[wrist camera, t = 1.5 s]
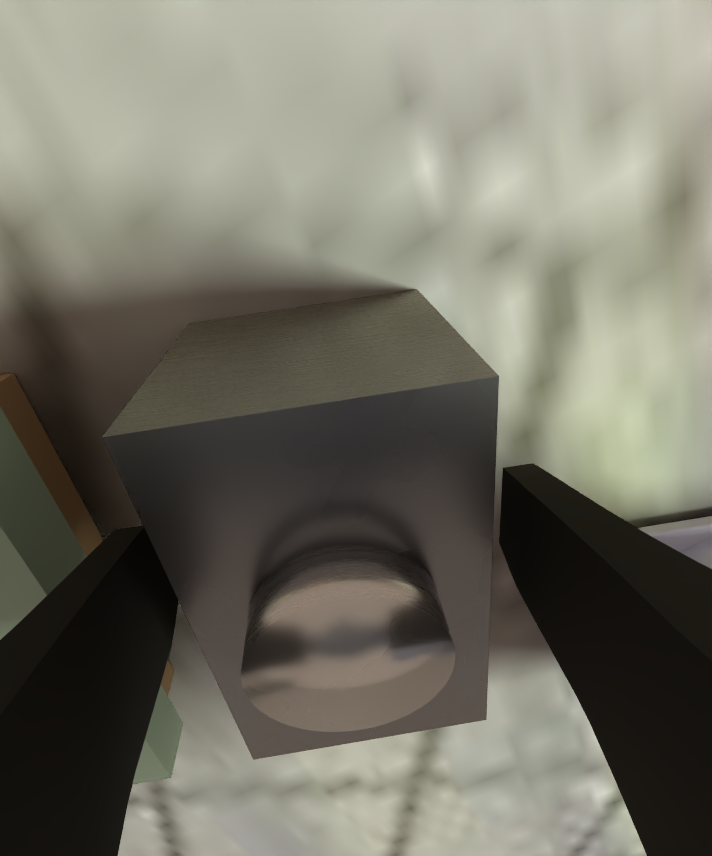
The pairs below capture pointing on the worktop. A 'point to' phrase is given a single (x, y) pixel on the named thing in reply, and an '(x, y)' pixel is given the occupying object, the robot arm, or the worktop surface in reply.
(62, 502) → the stand
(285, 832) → the worktop surface
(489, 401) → the housing
